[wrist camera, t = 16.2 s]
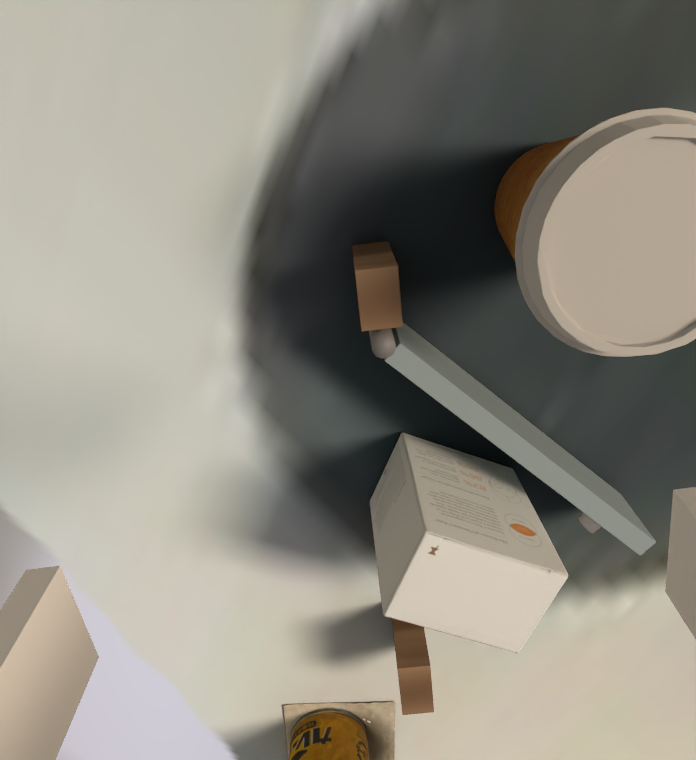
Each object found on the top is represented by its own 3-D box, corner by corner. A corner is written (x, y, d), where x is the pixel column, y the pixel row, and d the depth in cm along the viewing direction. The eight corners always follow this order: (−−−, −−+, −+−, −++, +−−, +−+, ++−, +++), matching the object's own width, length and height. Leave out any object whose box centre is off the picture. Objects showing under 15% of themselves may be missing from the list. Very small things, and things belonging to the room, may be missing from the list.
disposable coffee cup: (621, 291, 37) (745, 369, 26) (455, 287, 37) (509, 364, 26) (657, 110, 33) (820, 112, 22) (473, 104, 33) (544, 103, 22)
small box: (367, 499, 42) (377, 617, 32) (401, 428, 40) (422, 530, 30) (478, 535, 43) (520, 658, 34) (516, 467, 41) (572, 577, 32)
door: (348, 330, 37) (351, 366, 32) (375, 299, 36) (382, 330, 31) (591, 515, 43) (626, 572, 37) (618, 491, 42) (658, 545, 37)
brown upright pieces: (351, 245, 35) (355, 270, 30) (387, 240, 35) (398, 265, 30) (394, 643, 47) (402, 714, 41) (422, 640, 47) (433, 711, 41)
